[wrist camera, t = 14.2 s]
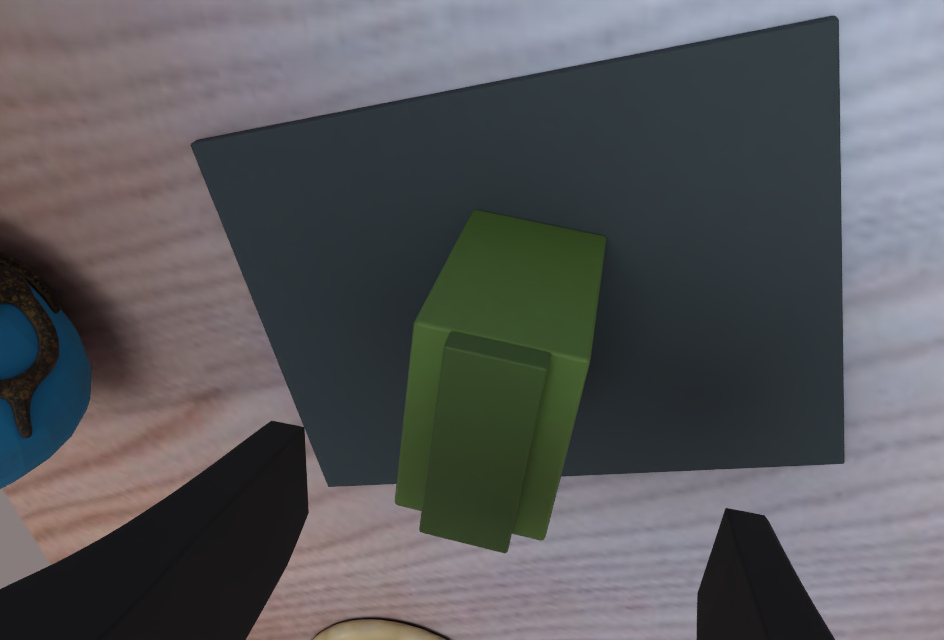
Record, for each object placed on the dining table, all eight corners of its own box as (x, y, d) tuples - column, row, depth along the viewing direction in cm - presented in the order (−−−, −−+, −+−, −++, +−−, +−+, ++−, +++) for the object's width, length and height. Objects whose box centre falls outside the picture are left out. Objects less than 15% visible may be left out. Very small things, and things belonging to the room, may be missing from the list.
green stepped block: (569, 391, 22) (540, 563, 17) (450, 365, 23) (385, 524, 17) (607, 235, 20) (588, 378, 14) (473, 207, 20) (404, 337, 15)
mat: (841, 454, 22) (844, 464, 22) (332, 479, 27) (328, 487, 26) (835, 15, 17) (839, 17, 16) (196, 139, 21) (189, 144, 21)
